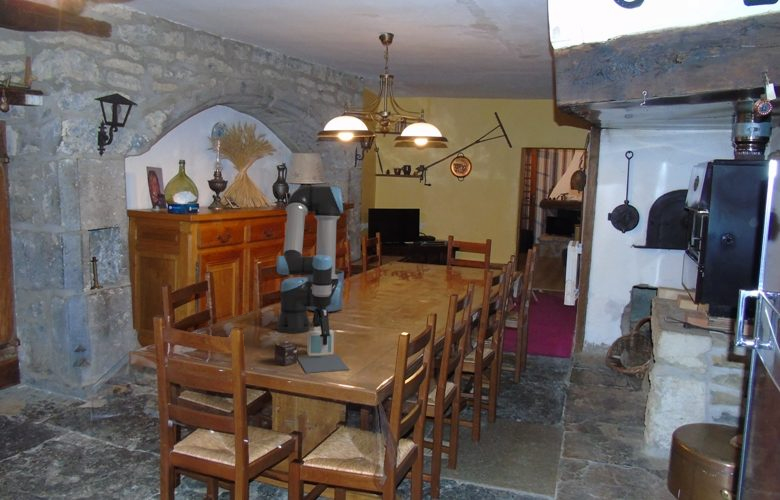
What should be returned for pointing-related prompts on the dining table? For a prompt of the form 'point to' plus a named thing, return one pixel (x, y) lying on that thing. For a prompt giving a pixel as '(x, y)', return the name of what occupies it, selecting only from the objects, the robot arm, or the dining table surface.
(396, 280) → the dining table surface
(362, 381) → the dining table surface
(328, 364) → the mat
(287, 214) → the robot arm
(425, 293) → the dining table surface
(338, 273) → the planter
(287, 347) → the box
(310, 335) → the light grey flat block
